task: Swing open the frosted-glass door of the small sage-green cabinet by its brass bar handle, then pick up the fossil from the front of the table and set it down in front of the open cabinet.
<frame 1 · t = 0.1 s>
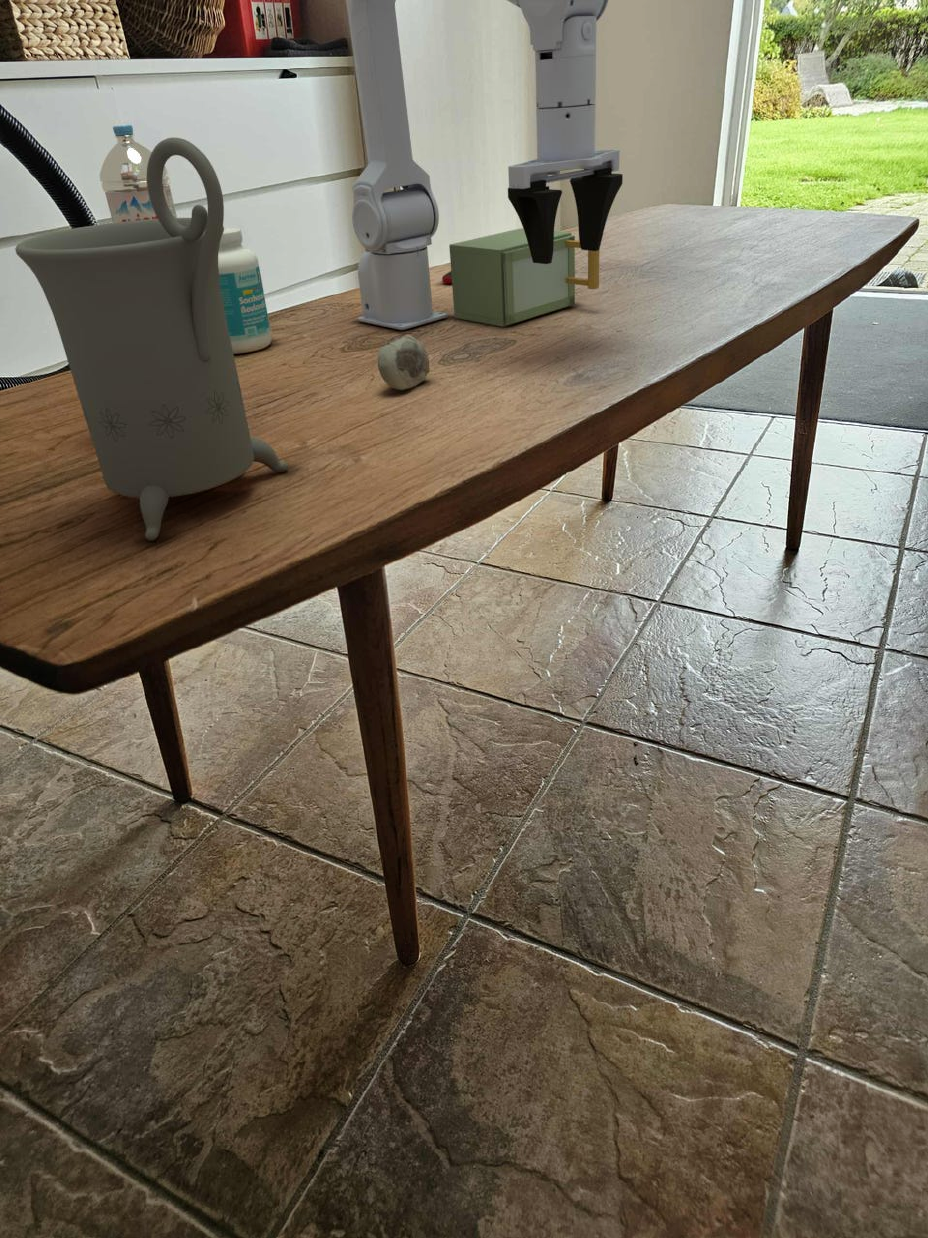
hand: (566, 256, 91), 10 cm above the table, tool pointing down, fingers open, 7 cm apart
cell phone: (479, 275, 137), on the table
fossil: (404, 388, 90), on the table
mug: (196, 499, 69), on the table
cabinet door: (555, 281, 107), point 5 cm above the table, hinge at 0.0°
water bottle: (182, 373, 101), on the table
cabinet: (513, 311, 115), on the table
pill bottle: (243, 349, 109), on the table
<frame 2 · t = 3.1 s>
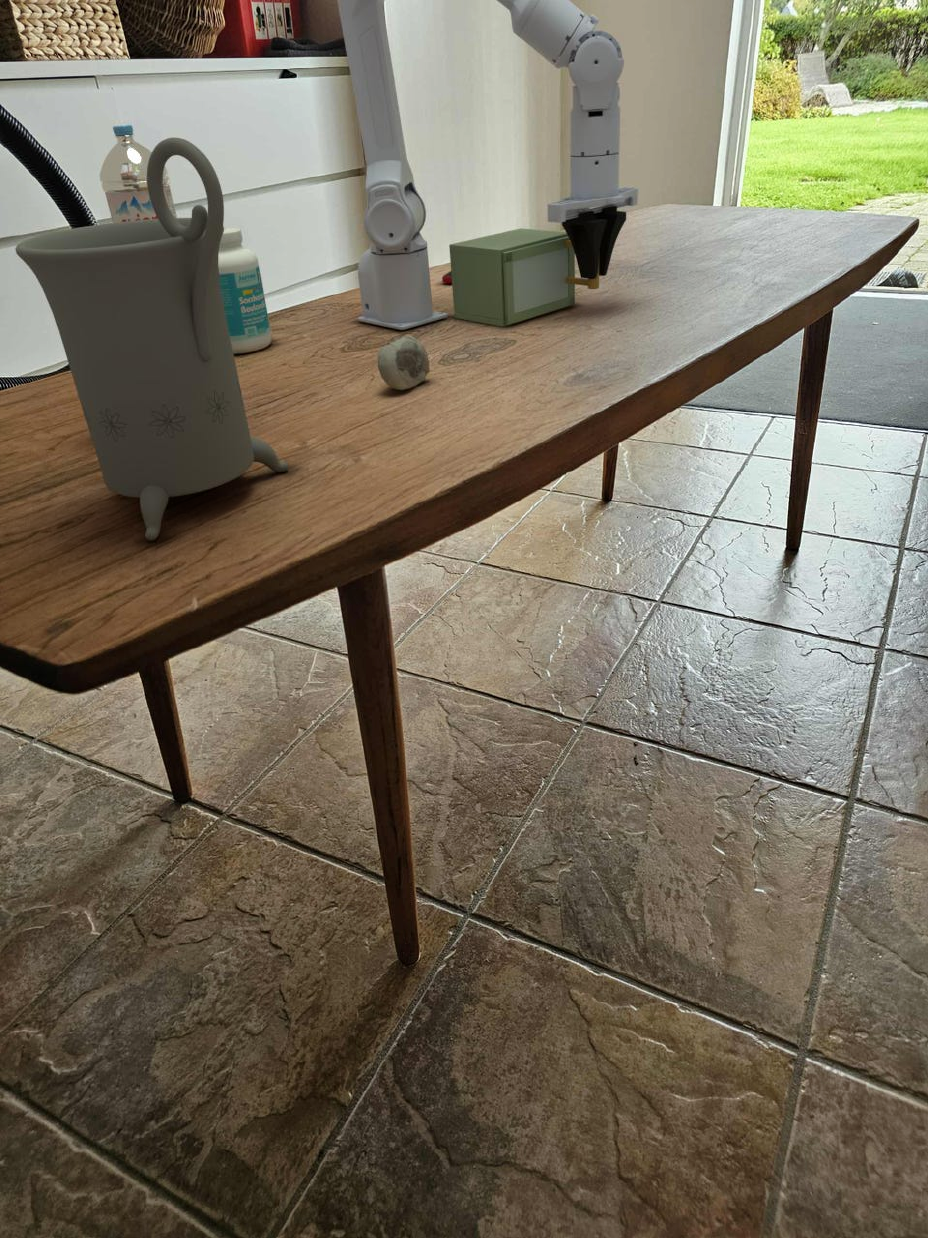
hand: (593, 276, 109), 4 cm above the table, tool pointing down, fingers closed on cabinet door
cabinet door: (555, 281, 107), point 4 cm above the table, hinge at 0.0°, touching gripper
everything else where it was.
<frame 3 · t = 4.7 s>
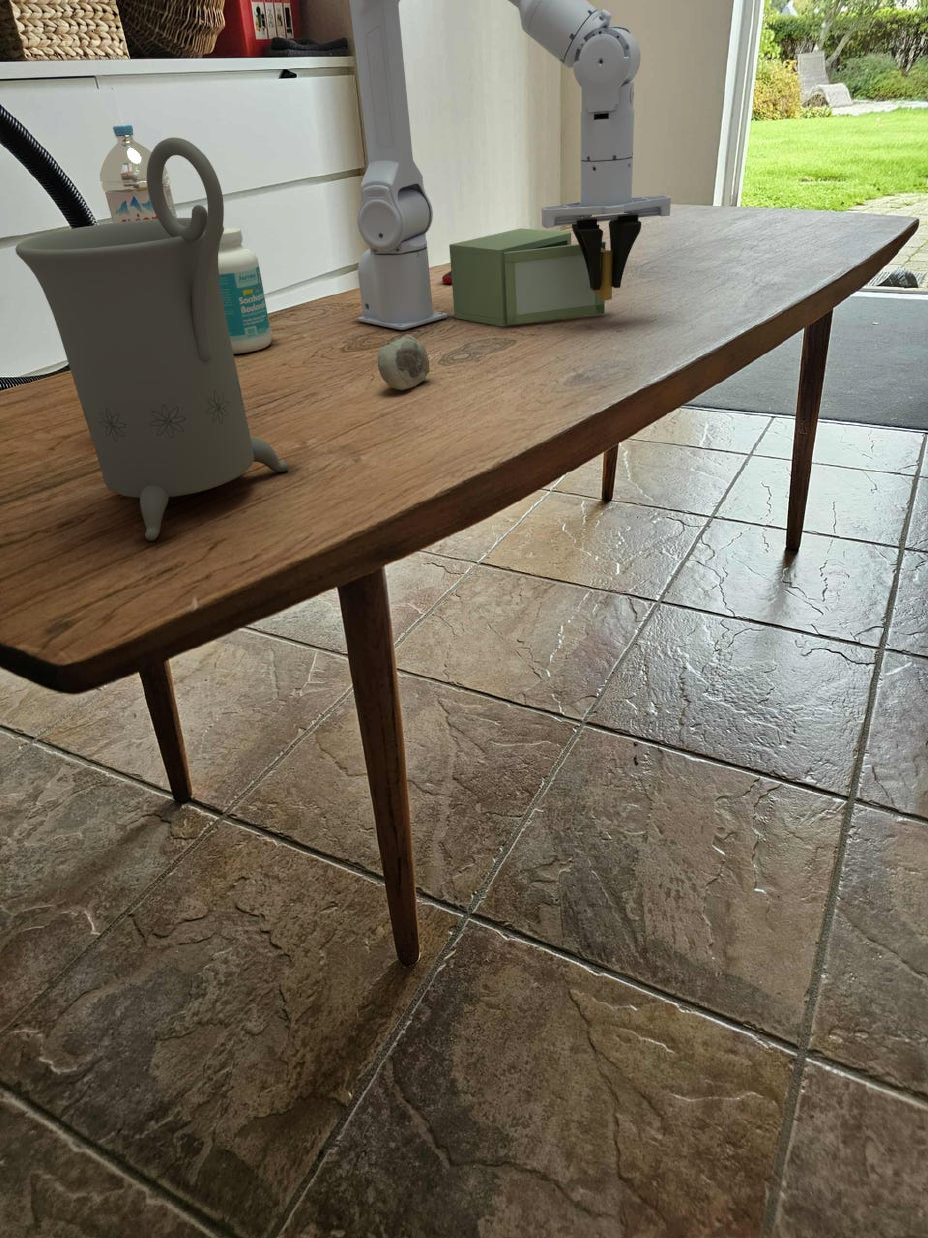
hand: (604, 287, 103), 4 cm above the table, tool pointing down, fingers closed
cabinet door: (561, 287, 104), point 5 cm above the table, hinge at 31.2°, touching gripper
everything else where it was.
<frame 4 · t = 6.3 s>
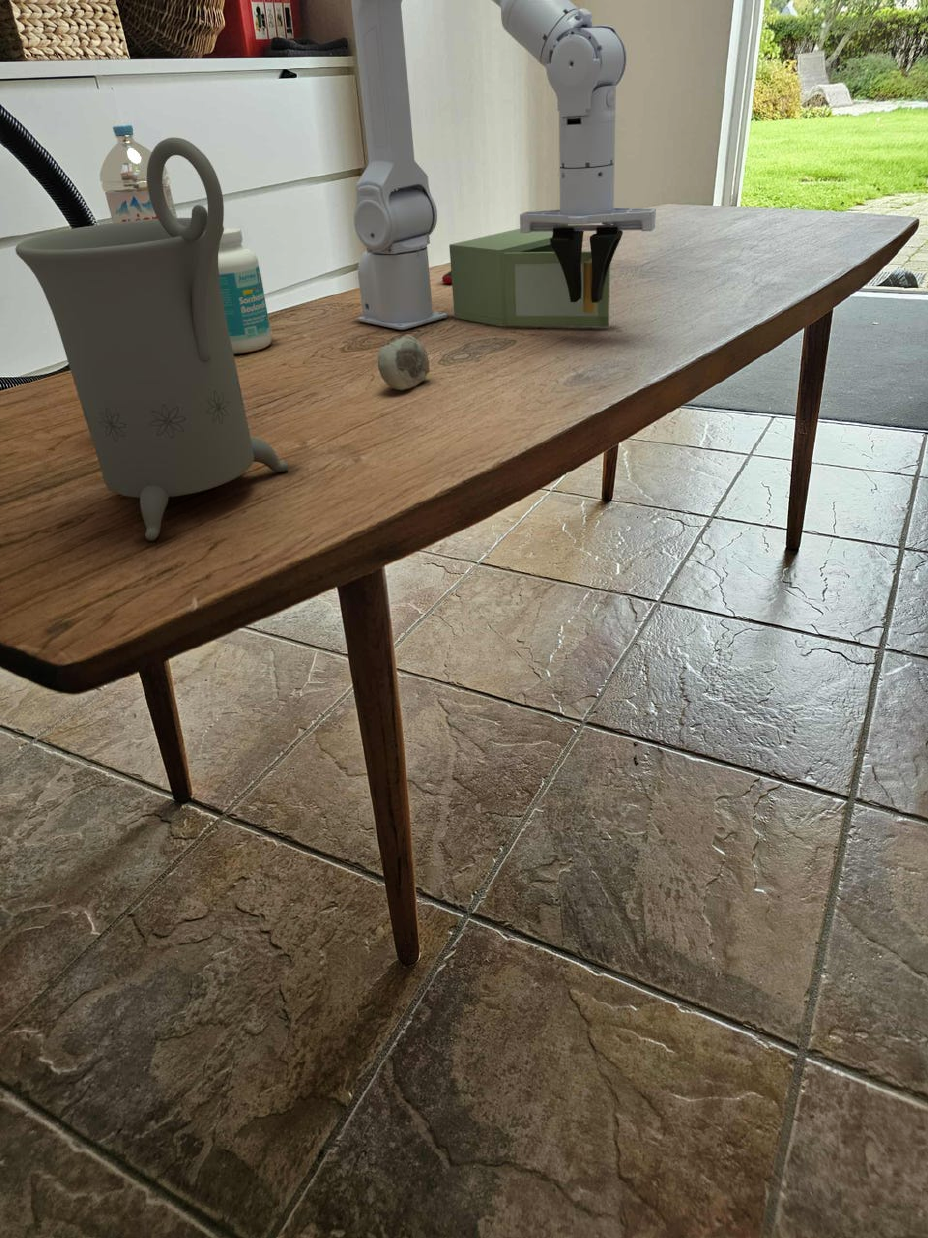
hand: (586, 300, 98), 4 cm above the table, tool pointing down, fingers closed
cabinet door: (551, 294, 102), point 4 cm above the table, hinge at 61.5°, touching gripper
everything else where it was.
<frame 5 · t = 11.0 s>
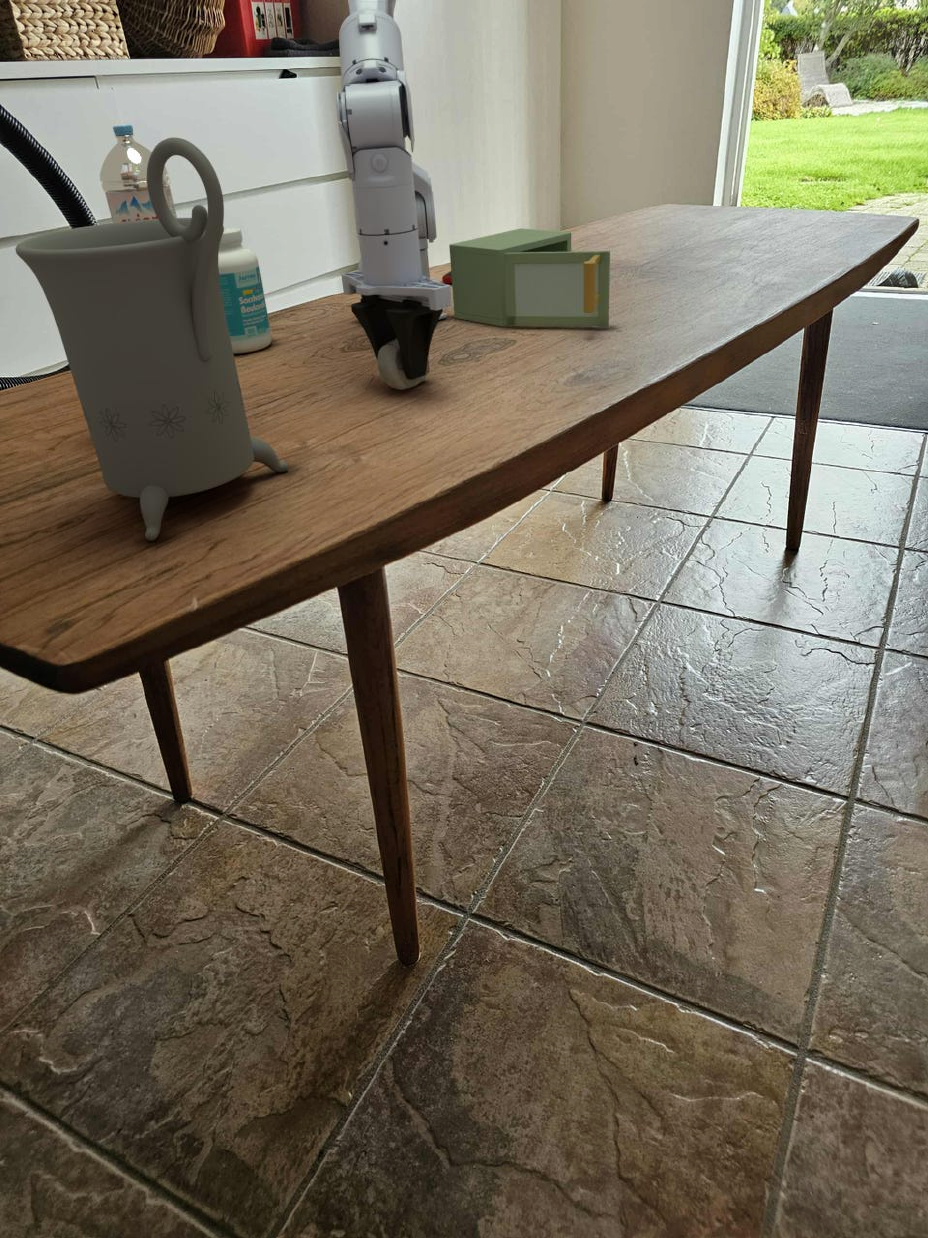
hand: (403, 373, 89), 1 cm above the table, tool pointing down, fingers closed on fossil, 3 cm apart
fossil: (404, 388, 90), on the table, touching gripper
cabinet door: (551, 294, 102), point 4 cm above the table, hinge at 61.5°
everything else where it was.
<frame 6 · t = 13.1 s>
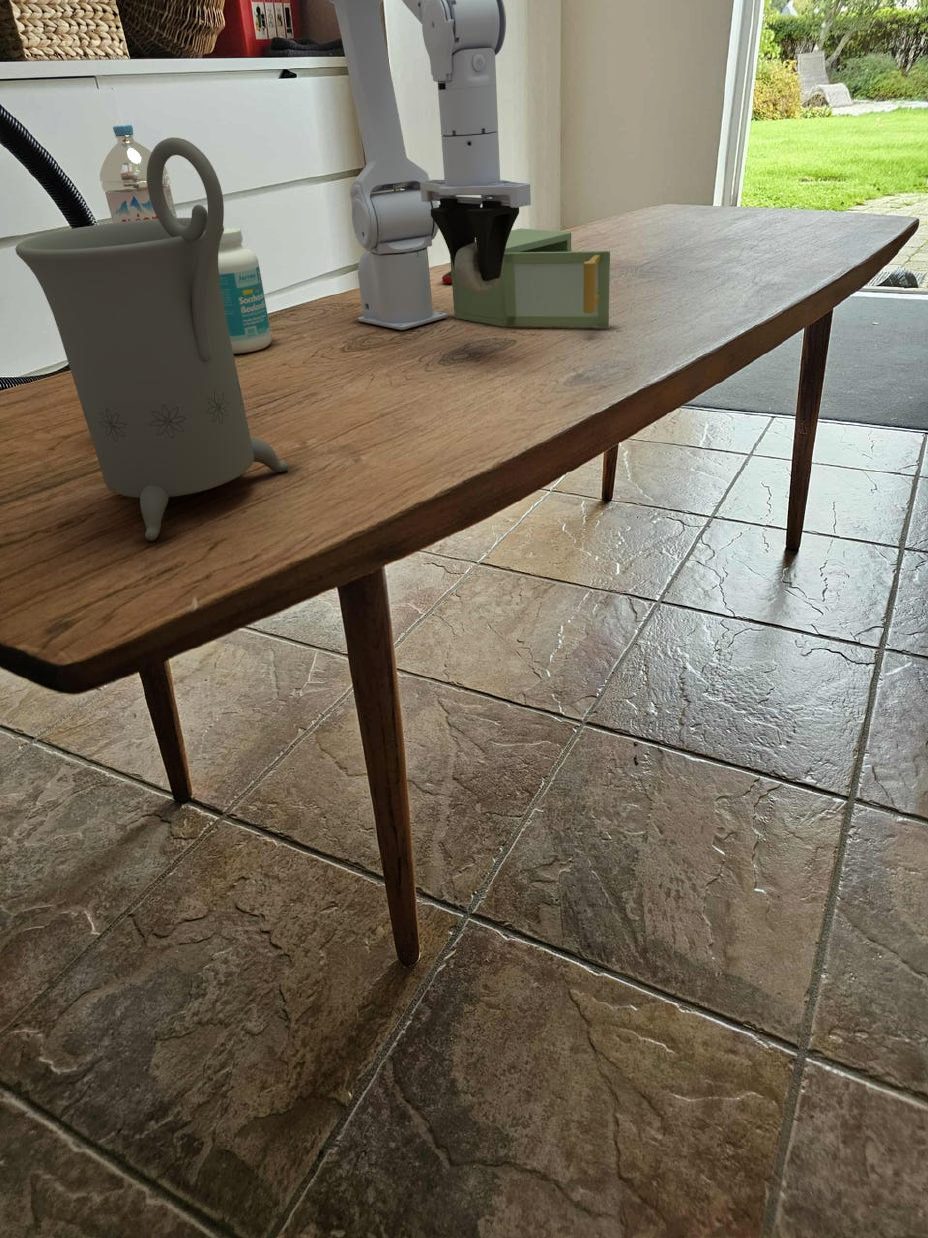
hand: (477, 277, 94), 8 cm above the table, tool pointing down, fingers closed on fossil, 3 cm apart
fossil: (478, 292, 95), point 7 cm above the table, touching gripper
everything else where it was.
when the fingers open (1 cm above the table, at t = 15.5 s): fossil stays where it is, on the table.
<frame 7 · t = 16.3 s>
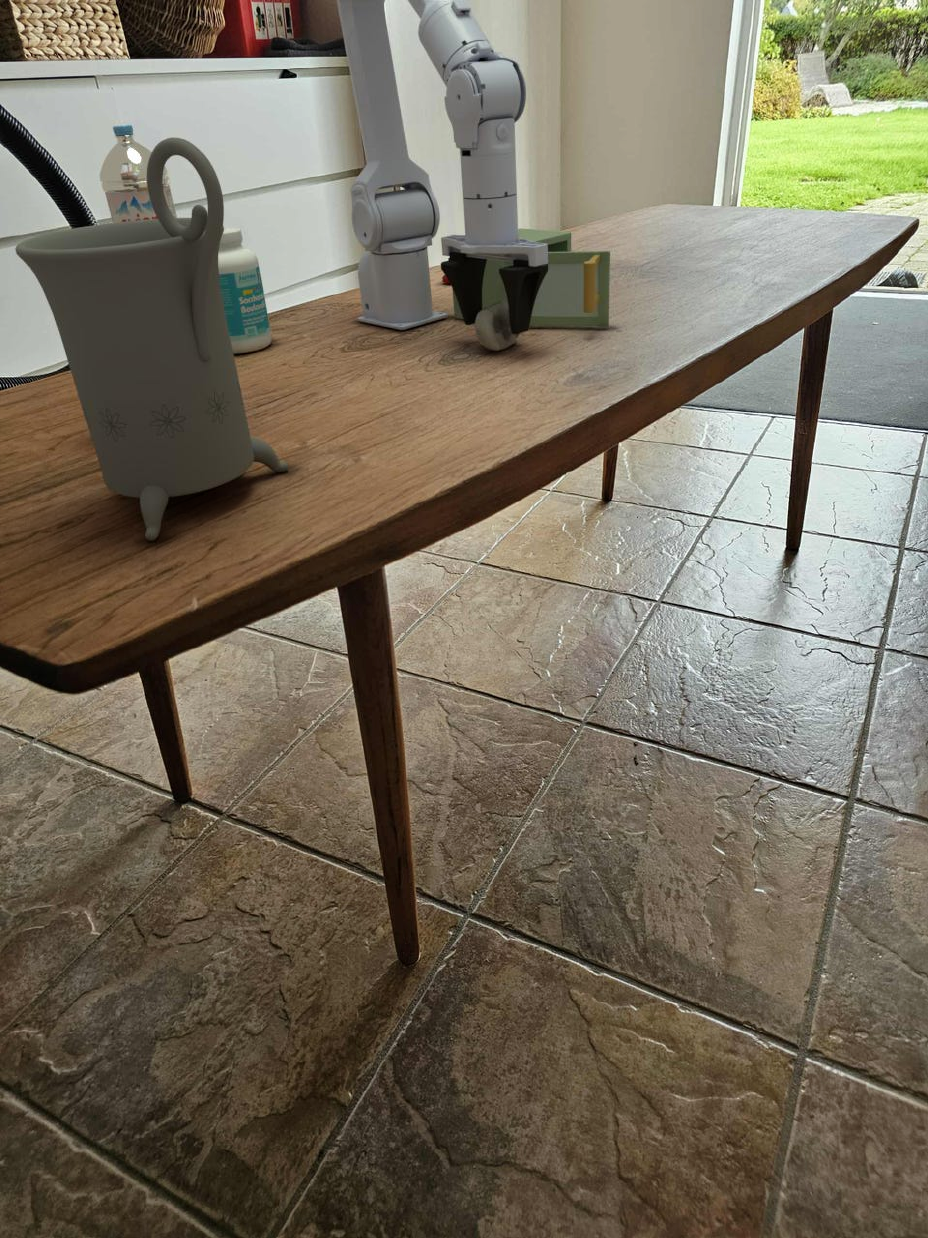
hand: (496, 327, 99), 2 cm above the table, tool pointing down, fingers open, 7 cm apart
fossil: (497, 350, 100), on the table
everything else where it was.
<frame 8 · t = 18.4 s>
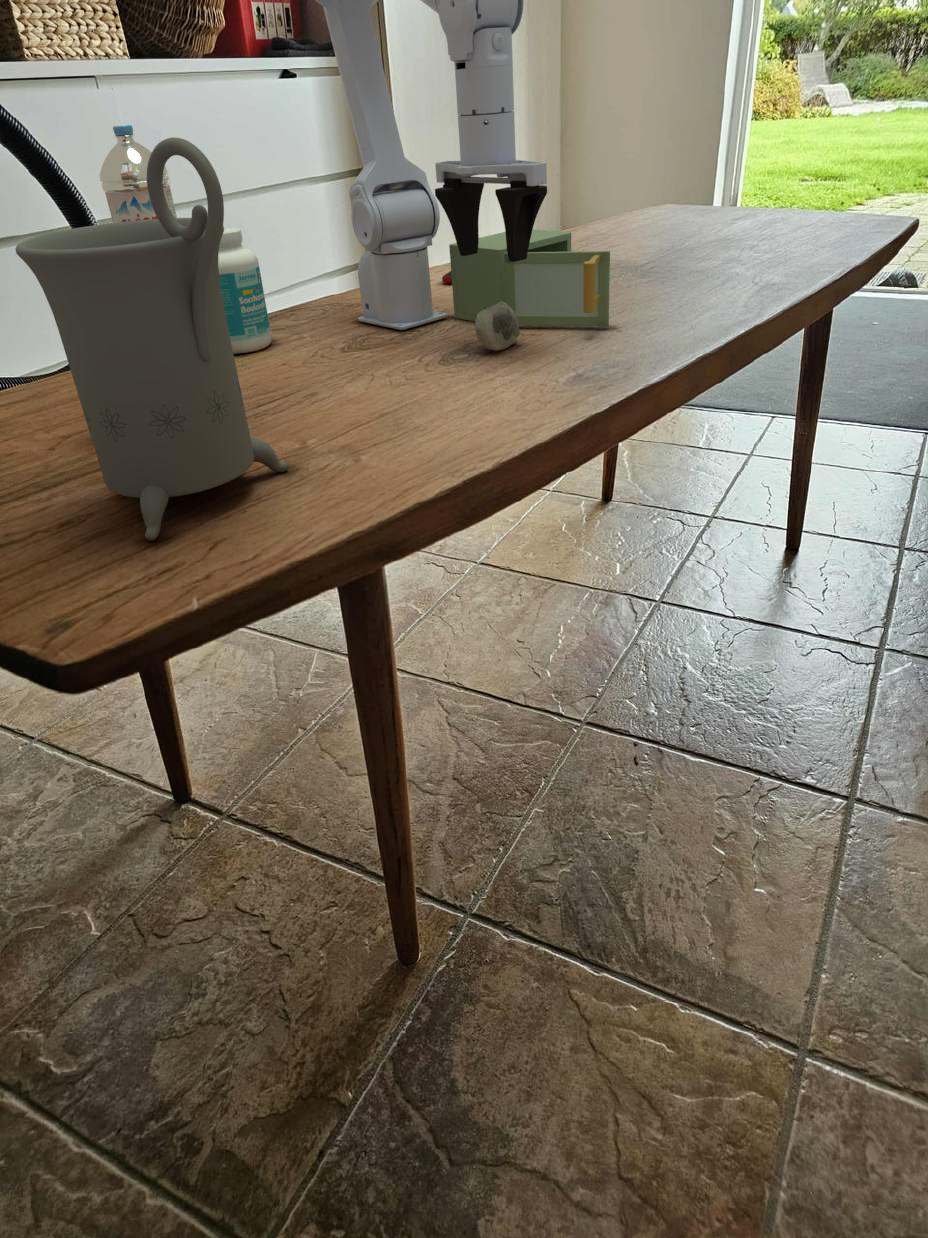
hand: (492, 257, 95), 10 cm above the table, tool pointing down, fingers open, 7 cm apart
nothing on the table moved.
at the end: cabinet door at +62° (first picture: +0°); fossil 0.0 cm from the target spot on the table beside the cabinet, on the table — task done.
